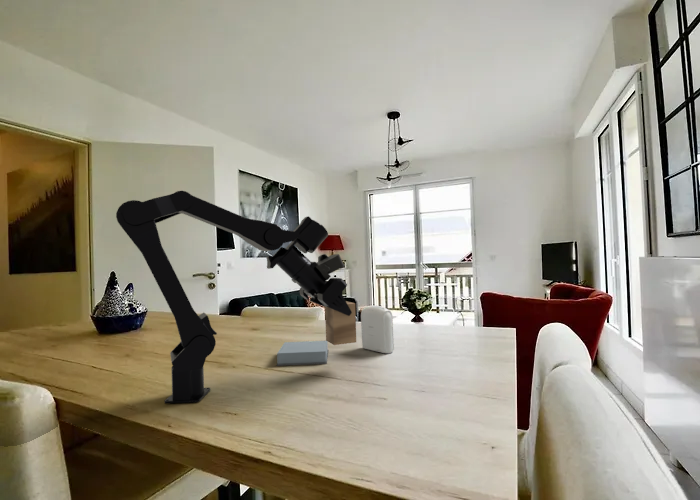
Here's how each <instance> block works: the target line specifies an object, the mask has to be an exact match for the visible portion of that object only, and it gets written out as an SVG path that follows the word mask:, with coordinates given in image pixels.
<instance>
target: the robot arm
mask: <svg viewBox="0 0 700 500" xmlns="http://www.w3.org/2000/svg"><path fill="white" fill-rule="evenodd" d="M180 214H183V215H185V216H188V217H190V218H193V219H194V220H197V221H201V222H203V223H205V224H208V225H211V226H213V227H216V228H218V229H221V230H223V231H225V232H228V233H231V234H234V235H235V236H237V237H239V238H241V239H242V240H243V241H245V242H246V243H247V244H249V245H250V246H252V247H254V248H256V249H257V250H259V251H261V252H270V251H271V252H272V251H275V253H274V254H273V255H268V256H266V264H267V265H266V269H267V270H268V269H274V268H275V267H276V266H278V267H279V268H280V269H281V270H282V271H284V273H285V274H286V275H287V276H288V277H289V278H291V282H293V283H294V284H297V285H298V286H299V287H300V288H299V295H300V296H301V297H302V298H304V300H309V302H310V303H311V302H312V303H314V304H317V305H318V306H321V307H324V308H325V306H326V307H328V308H331V309H333V310H336V311H338V312H340V313H343V314H345V315H348V316H350V315H351V313H352V311H351V310H350V308H349V306H348V305H347V303H346V301H347V300H345V297H344V295H343V291H344V290H345V289H346V288H347V286H348V283H347V282H346V281H344V279H343V278H340V277H339V278H338V277H332V276H331V275H330V274H332V273H334V272H335V271H337V270H339V269H340V270H341V269H343V268H345V264H344V262H343V259H342V258H341V256H340V254H338V253H337V254H332V255H331V254H330V255H327V254H325V253H323V254H321V255H318V256H317V262H316V261H311V260H309V258H308V257H307V256H306V255H304V254H307V253H310V254H313V253H314V252H315V251H316V250H317V249H318V248H319V246H320V245H321V244H322V243H323V242H324V241H325V240H326V239H327V238H328V236H329V232H328V230H327V229H326V228H325V226H323V224H321V223H319V222H318V221H316V220H314V219H312V218H311V217H310V216H304V217H303V218H302V220H301V221H300V223H299V224H298V225H297V226H296V227H295V228H294V229H293V230H286V229H283V228H282V227H281V226H280V225H278V224H276V223H272V222H268V221H264V220H261V219H260V220H258V219H252V218H249V217H248V218H247V217H244V216H242V215H239V214H237V213H236V212H235V213H234V212H233V211H230V210H228V209H226V208H222V207H220V206H218V205H216V204H214V203H211V202H208V201H206V200H204V199H202V198H199V197H197V196H195V195H193V194H191V193H190V192H188V191H185V190H177V191H175V192H174V193H171V194H167V195H162V196H159V197H154V198H151V199H148V200H144V201H140V200H136V199H135V200H134V199H133V200H128V201H125V202H123V203H121V205H119V207H118V208H117V210H116V215H115V218H116V221H117V223H118V225H119V226H120V227H121V228H122V229H123V231H124V232H125V233H126V235H127V236H128V237H129V239H130V240H131V241H132V242H133V244H134V245H135V247H136V248H137V249H138V250H139V251H140V253H141V254H142V256H143V258H144V260H145V262H146V264H147V266H148V268H149V270H150V272H151V274H152V276H153V277H154V280H155V282H156V284H157V285H158V288H159V290H160V292H161V293H162V295H163V298H164V299H165V301H166V303H167V305H168V308H169V309H170V311H171V313H172V315H173V318H174V320H175V325H176V328H177V331H178V336H179V338H180V341H179V343H178V344H177V345H176V346H175V347H174V348H173V349H172V350H171V351H170V352H169V354H170V361H171V365H172V366H171V395H169V396H168V397H167V398H166V399H164V404H182V403H185V404H187V403H198V402H201V400H202V399H204V397H205V396H206V395H208V393H210V392H211V387H205V377H204V374H205V373H204V371H205V369H204V365H205V362H206V359H207V357H208V356H210V355H211V354H212V353H213V351H214V350H215V348H216V338H215V335H218V333H217V332H216V330H215V329H214V328H213V327H212V325H211V322H210V317H209V316H208V314H206V313H205V312H204V311H203V312H202V313H200V314H197V312H196V311H195V310H194V308H193V305H192V304H191V302H190V299H189V297H188V295H187V294H186V291H185V290H184V288H183V286H182V284H181V282H180V279H179V278H178V276H177V274H176V272H175V270H174V268H173V266H172V263H171V262H170V259H169V257H168V255H167V254H166V252H165V249H164V247H163V246H162V243H161V239H160V234H159V231H158V228H157V223H160V222H163V221H166V220H168V219H170V218H172V217H173V218H174V217H175V216H177V215H180ZM286 243H289V244H288V245H287V246H286V247H282V246H283V244H286ZM276 250H277V251H276Z"/></svg>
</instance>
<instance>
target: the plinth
mask: <svg viewBox="0 0 700 500" xmlns="http://www.w3.org/2000/svg"><path fill="white" fill-rule="evenodd" d="M328 345H329V342H328V341H326V340H311V341H309V340H308V341H307V340H306V341H305V340H304V341H284V342H283V344H282V346H281V347H280V349H279V350H278V351H277V353H276V356H277V359H276V360H277V363H276V366H277V367H278V366H280V367H281V366H283V367H284V366H305V365H307V366H308V365H326V364H328V358H329V348H328V347H329V346H328Z"/></svg>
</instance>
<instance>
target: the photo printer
mask: <svg viewBox="0 0 700 500" xmlns="http://www.w3.org/2000/svg"><path fill="white" fill-rule="evenodd" d="M393 319H394V318H393V313H392V311H391V310H390V309H388V308H387V307H384V306H380V305H369V306H366V307H364V308H362V310H361V313H360V324H361V325H360V327H361V328H360V329H361V346H362V348H363V349H365V350H368V351H372V352H379V353H383V354H391V353H393V352H394V350H395V343H394V339H395V338H394V322H393Z"/></svg>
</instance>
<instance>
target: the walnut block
mask: <svg viewBox="0 0 700 500" xmlns="http://www.w3.org/2000/svg"><path fill="white" fill-rule="evenodd" d="M345 301H346V303H347V305H348V306H349V308H350V310H351V311H352V313H351V315H350V316H348V315H345V314H343V313H340V312H338V311H336V310H333V309H331V308H328V307H326V306H325V307H324V313H325V314H324V316H325V317H324V318H325V341H327V342H328V343H329V344H332V345H334V346H337V345H338V346H339V345H347V344H353V343H357V323H356V321H357V319H356V303H355V302H351V301H347V300H345Z"/></svg>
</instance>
